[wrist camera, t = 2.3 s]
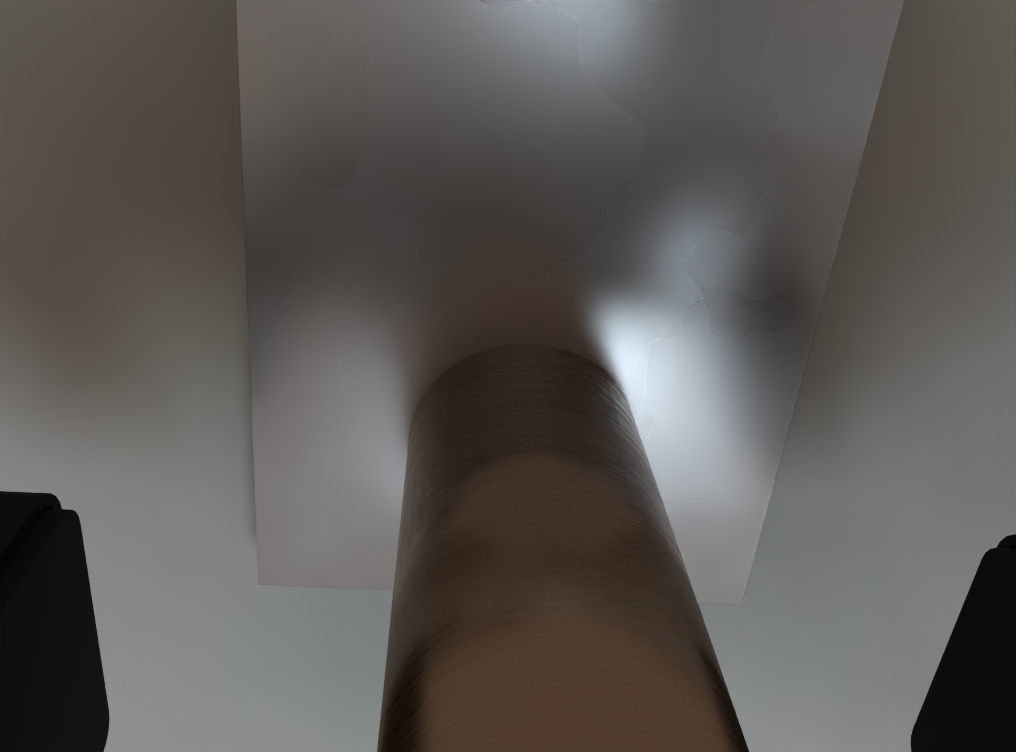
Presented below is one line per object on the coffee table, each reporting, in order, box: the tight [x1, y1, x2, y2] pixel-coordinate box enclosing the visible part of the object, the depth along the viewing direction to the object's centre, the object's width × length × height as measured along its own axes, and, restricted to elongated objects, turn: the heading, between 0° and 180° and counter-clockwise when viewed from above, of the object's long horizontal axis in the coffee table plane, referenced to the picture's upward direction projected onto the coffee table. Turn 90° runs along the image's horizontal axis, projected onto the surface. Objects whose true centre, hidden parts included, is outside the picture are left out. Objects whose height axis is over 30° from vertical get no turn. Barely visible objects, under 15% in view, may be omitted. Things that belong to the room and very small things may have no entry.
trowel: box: [236, 0, 904, 752], centre depth 8 cm, size 7×10×8 cm
